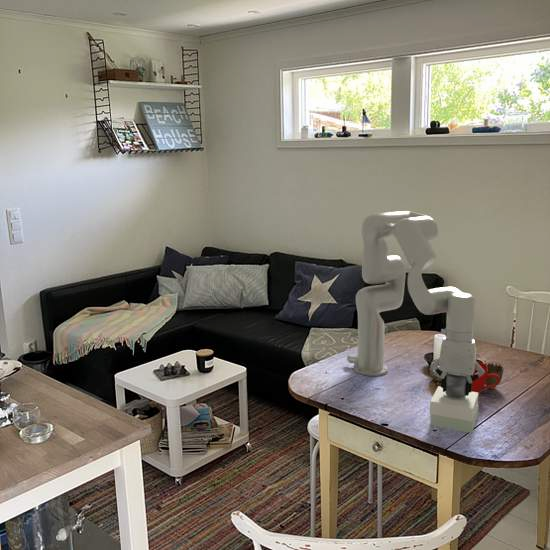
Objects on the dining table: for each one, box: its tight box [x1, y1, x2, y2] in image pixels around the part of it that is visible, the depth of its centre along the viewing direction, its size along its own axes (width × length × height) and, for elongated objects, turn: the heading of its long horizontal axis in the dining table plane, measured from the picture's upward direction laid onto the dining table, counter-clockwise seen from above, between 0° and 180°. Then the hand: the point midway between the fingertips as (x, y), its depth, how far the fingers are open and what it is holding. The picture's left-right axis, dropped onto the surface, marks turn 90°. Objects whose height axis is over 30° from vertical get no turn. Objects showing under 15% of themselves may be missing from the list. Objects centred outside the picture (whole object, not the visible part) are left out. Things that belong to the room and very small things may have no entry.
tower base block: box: [429, 404, 479, 434], centre depth 181 cm, size 12×12×4 cm
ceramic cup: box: [447, 360, 501, 394], centre depth 197 cm, size 13×17×10 cm
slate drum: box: [446, 373, 467, 398], centre depth 179 cm, size 6×6×6 cm
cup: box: [484, 362, 505, 391], centre depth 202 cm, size 8×7×8 cm
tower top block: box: [429, 385, 479, 421], centre depth 180 cm, size 12×12×4 cm
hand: (456, 391), depth 179 cm, fingers closed on slate drum, 6 cm apart
